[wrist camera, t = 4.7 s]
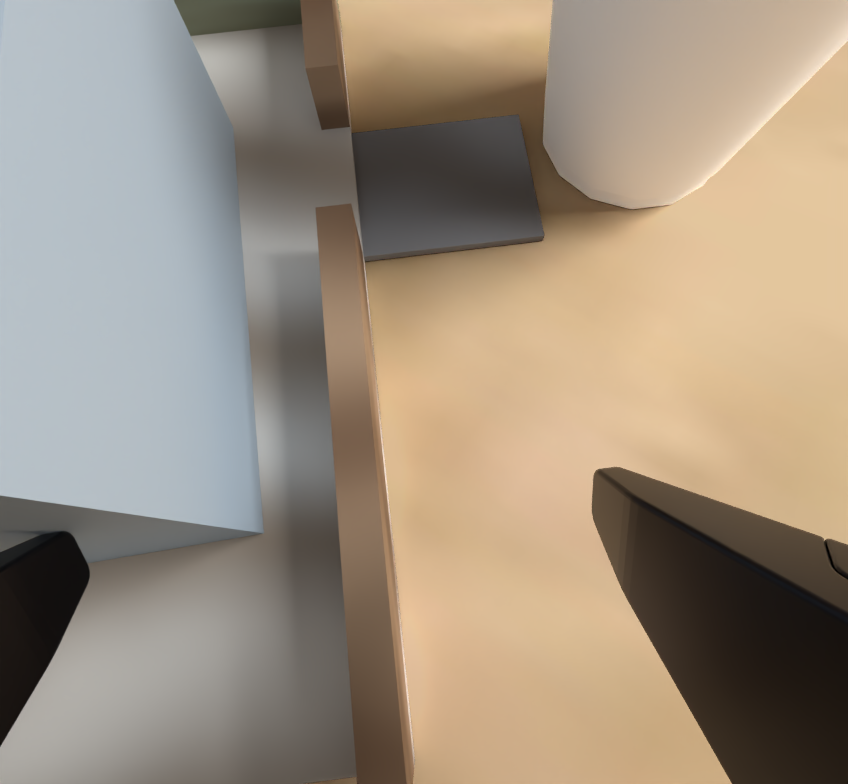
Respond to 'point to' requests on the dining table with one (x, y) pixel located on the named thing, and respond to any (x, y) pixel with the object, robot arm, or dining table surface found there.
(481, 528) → the dining table surface
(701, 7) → the foam cup
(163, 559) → the lane
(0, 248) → the slate box
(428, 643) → the dining table surface
